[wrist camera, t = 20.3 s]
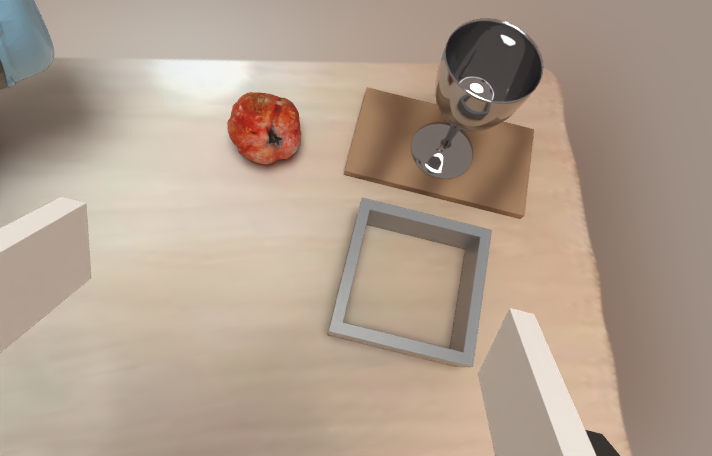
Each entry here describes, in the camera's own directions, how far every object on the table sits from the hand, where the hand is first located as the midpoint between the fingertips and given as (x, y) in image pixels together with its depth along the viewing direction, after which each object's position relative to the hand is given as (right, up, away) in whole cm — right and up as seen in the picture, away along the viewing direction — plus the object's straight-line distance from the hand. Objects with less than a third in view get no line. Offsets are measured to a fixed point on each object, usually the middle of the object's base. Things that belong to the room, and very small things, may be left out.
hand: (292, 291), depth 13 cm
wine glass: (+12, +11, +35) cm, 38 cm away
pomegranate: (-8, +11, +35) cm, 37 cm away
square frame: (+7, -4, +31) cm, 32 cm away
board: (+12, +10, +36) cm, 39 cm away
